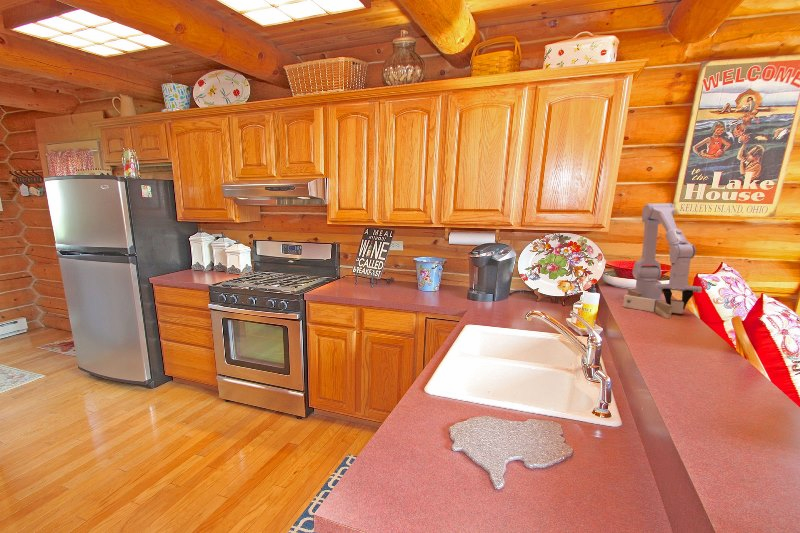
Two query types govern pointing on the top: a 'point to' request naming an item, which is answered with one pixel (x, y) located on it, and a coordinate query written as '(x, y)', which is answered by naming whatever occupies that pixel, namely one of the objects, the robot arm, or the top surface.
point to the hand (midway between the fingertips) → (675, 308)
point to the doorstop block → (677, 306)
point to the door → (639, 303)
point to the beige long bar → (660, 308)
